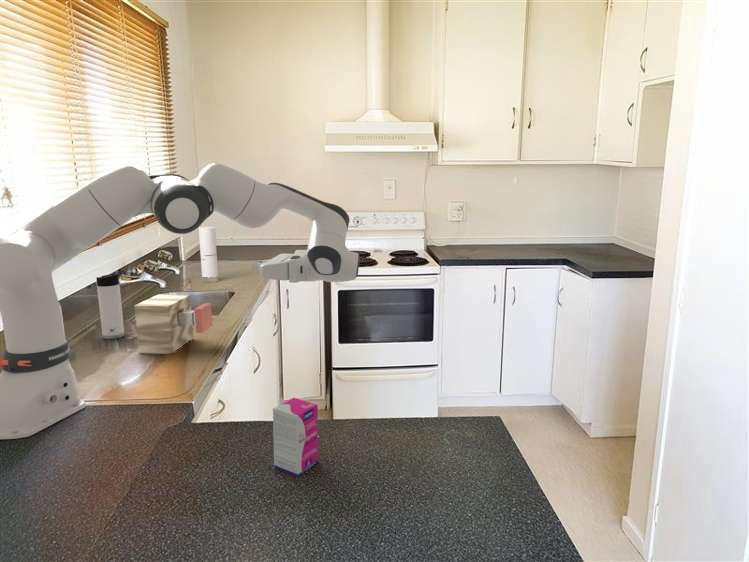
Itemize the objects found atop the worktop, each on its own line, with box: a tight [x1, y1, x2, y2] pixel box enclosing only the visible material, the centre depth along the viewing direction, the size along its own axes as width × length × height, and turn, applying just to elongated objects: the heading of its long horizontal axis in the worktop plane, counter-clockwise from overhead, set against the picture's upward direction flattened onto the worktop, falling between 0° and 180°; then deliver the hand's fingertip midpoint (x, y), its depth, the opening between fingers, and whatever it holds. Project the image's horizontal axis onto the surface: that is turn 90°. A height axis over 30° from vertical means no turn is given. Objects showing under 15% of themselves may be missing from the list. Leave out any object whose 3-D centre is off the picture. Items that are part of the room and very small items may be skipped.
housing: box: [133, 293, 194, 355], centre depth 162 cm, size 14×10×14 cm
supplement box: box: [272, 397, 319, 477], centre depth 97 cm, size 6×6×12 cm
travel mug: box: [96, 273, 125, 340], centre depth 171 cm, size 6×7×20 cm
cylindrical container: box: [198, 226, 219, 278], centre depth 251 cm, size 7×7×25 cm
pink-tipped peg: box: [177, 302, 213, 334], centre depth 161 cm, size 7×14×7 cm, turn 84°
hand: (254, 264), depth 155 cm, fingers closed
